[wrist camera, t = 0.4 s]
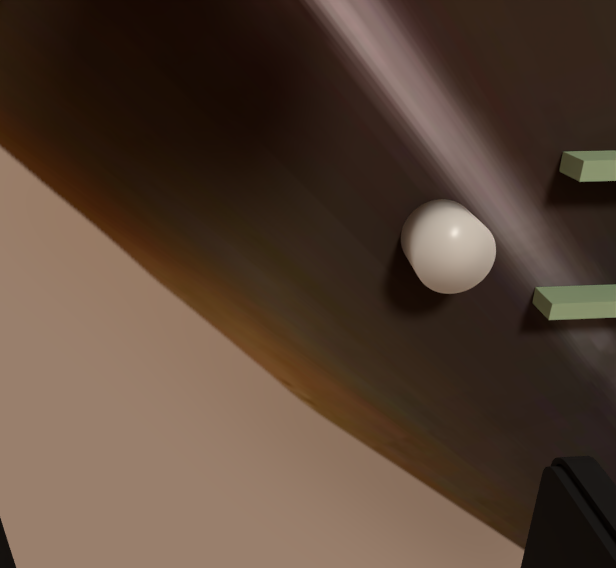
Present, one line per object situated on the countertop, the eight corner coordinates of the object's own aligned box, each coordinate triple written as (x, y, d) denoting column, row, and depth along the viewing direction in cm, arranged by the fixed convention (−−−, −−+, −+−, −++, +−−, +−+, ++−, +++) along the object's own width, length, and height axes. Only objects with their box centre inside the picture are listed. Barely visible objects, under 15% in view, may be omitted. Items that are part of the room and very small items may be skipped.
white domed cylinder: (403, 199, 42) (418, 219, 38) (478, 197, 42) (501, 216, 38) (398, 270, 44) (411, 295, 40) (469, 267, 45) (489, 292, 41)
